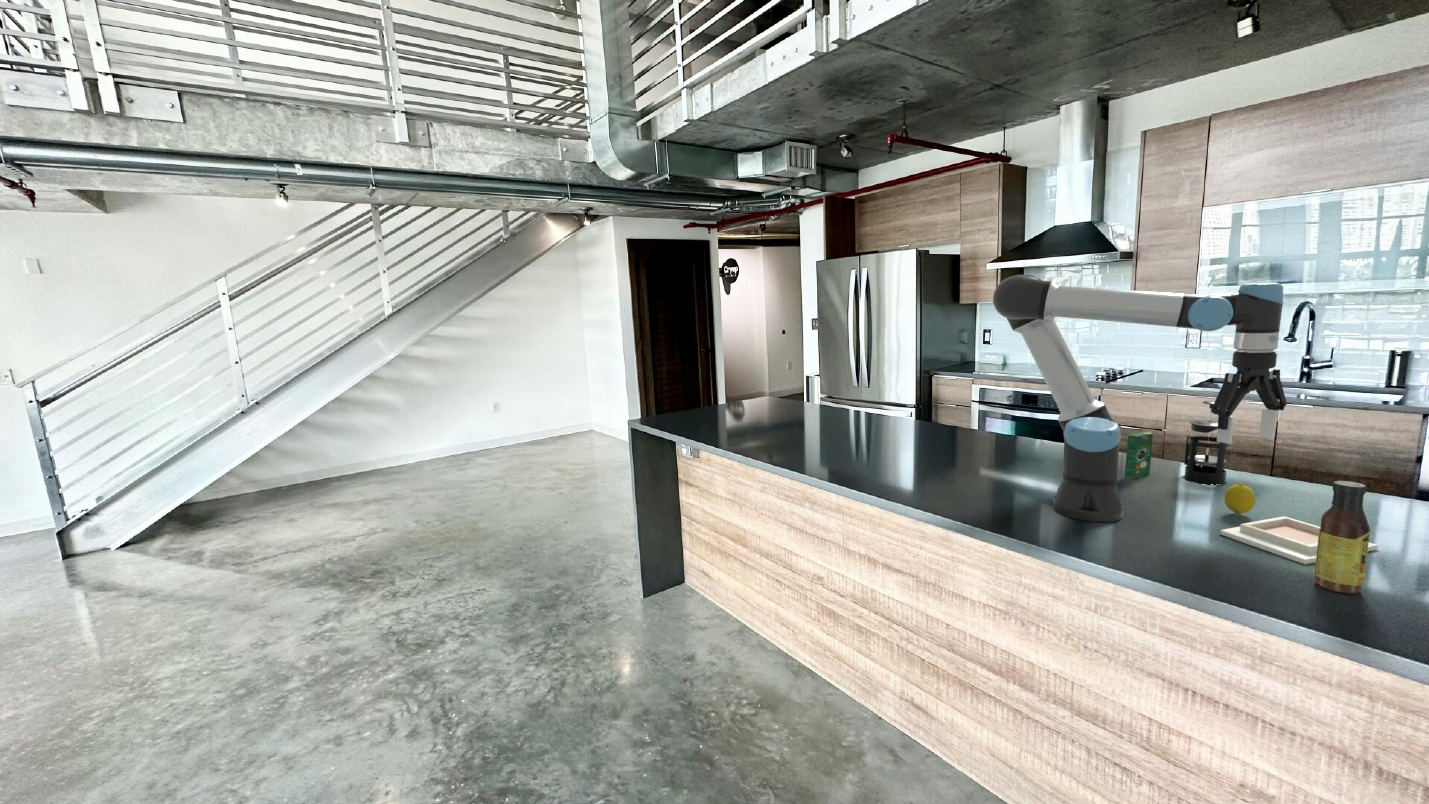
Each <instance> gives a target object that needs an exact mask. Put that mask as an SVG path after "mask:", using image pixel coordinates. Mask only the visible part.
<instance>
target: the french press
mask: <svg viewBox="0 0 1429 804" xmlns="http://www.w3.org/2000/svg"><path fill="white" fill-rule="evenodd" d="M1214 402H1215V400H1205V401H1202V404H1205V405H1209V409H1210V411H1209V412H1210V413H1209V419H1191V420H1189V424H1191V425H1190V429H1191V430H1192V431H1194V432H1198V433H1203V434H1207V435H1186V441H1185V450H1184V451H1185V453H1184V462H1183V463H1184V465H1185V467H1184V468H1185V469H1184V475H1183V479H1184V480H1185V481H1186V482H1189V483H1193V484H1197V485H1202V484H1206V485H1205V486H1212V485H1211V484H1213V485H1216V484H1217V485H1218V484H1225V483H1226V484H1227V470H1226V469H1224V467H1225V464H1226V462H1227V460H1226V459H1225V457H1226V449H1227V448H1230V444H1227V443H1222V442H1217V436H1216V437H1215V436H1211V432H1214V431H1215V430H1218V420H1214V419H1212V417H1213V416H1212V415H1213V413H1212V412H1211V409H1212V407H1213V405H1214ZM1202 441H1203V442H1202ZM1204 441H1205V442H1204ZM1210 442H1213V443H1210ZM1198 448H1205V449H1206V452H1205V453H1206V454H1198V450H1199V449H1198ZM1209 449H1217V456H1215V455H1209ZM1201 466H1202V467H1201ZM1226 484H1225V485H1226Z"/></svg>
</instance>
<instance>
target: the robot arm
mask: <svg viewBox="0 0 1429 804" xmlns="http://www.w3.org/2000/svg"><path fill="white" fill-rule="evenodd" d="M992 302H993V307H994V309H995V310H996V312H997V313H998V314H999V315H1000V316H1002V317H1003V318H1006V319H1007V322H1008V324H1009V326H1010V328H1011V329H1012V331H1013V332H1015V333H1018V334H1020V335H1021V337H1022V338H1023V340H1024V342H1025V344H1026V346H1027V348H1028V350H1029V353H1030V354H1031V355H1032V358H1033V360H1034V362H1035V364H1036V366H1037V368H1038V370H1039V371H1040V375H1041V377H1042V378H1043V380H1044V382H1045V383H1046V386H1047V388H1048V389H1049V391H1050V394H1051V395H1052V398H1053V399H1054V402H1055V403H1056V405H1057V407H1058V409H1059V411H1060V413H1059V415H1058V418H1057V421H1058V423H1059V425H1060V427H1061V429H1062V431H1063V438H1064V439H1063V440H1064V441H1063V442H1064V443H1063V444H1064V445H1063V456H1062V457H1063V461H1062V479H1061V481H1060V484H1059V486H1058V489H1057V492H1056V494H1055V495H1054V497H1053V501H1052V502H1053V503H1052V508H1053V509H1054V511H1055V512H1056V513H1058V514H1060V515H1061V516H1064V517H1067V518H1071V519H1075V520H1079V521H1083V522H1084V521H1085V522H1093V523H1109V522H1116V521H1120V520H1121V519H1122V518H1124V509H1125V508H1124V505H1123V503H1122V502H1121V497H1120V492H1119V489H1118V484H1117V481H1118V472H1119V471H1118V470H1119V459H1120V458H1119V457H1120V456H1119V453H1120V443H1121V440H1122V434H1121V428H1120V426H1119V424H1118V423H1117V421H1115V419H1114V418H1112V415H1111V414H1110V412H1109V410H1108V408H1107V406H1106V404H1105V402H1102V401H1100V400H1097V399H1095V397H1094V395H1093V393H1092V391H1091V389H1090V388H1089V386H1088V384H1087V382H1086V380H1085V377H1084V375H1083V373H1082V371H1081V370H1080V368H1079V366H1078V364H1077V362H1076V360H1075V358H1074V356H1073V354H1072V351H1071V350H1070V349H1069V346H1068V344H1067V342H1066V340H1065V339H1064V336H1063V334H1062V333H1061V331H1060V329H1059V326H1058V325H1057V323H1056V321H1055V318H1056V317H1057V318H1058V317H1059V318H1068V319H1079V320H1081V319H1082V320H1090V321H1091V320H1092V321H1103V322H1114V323H1126V324H1138V325H1148V326H1162V327H1172V328H1173V327H1175V328H1181V329H1189V330H1190V329H1192V330H1198V331H1201V332H1215V331H1217V330H1220V329H1223V328H1224V327H1225V326H1235V331H1234V332H1235V334H1234V340H1233V349H1235V351H1234V352H1233V354H1232V361H1231V366H1232V367H1234V368H1236V373H1232V372H1226V373H1225V374H1224V379H1223V383H1222V385H1221V387H1220V389H1219V392H1218V393H1217V396H1216V398H1215V400H1214V401H1215V402H1214V405H1213V407H1212V409H1210V411H1211V412H1212V415H1217V421H1218V429H1217V436H1216V437H1217V442H1216V443H1219V442H1222V443H1227V444H1229V445H1230V444H1232V443H1233V433H1234V432H1233V430H1234V425H1235V424H1234V423H1235V416H1234V415H1233V413H1234V412H1235V411H1236V409H1237V408H1238V406H1239V405H1240V403H1241V402H1242V400H1243V399H1244V397H1245V395H1247V394H1250V392H1254V391H1256V393H1257V395H1258V396H1259V398H1260V400H1261V402H1262V403H1263V405H1264V406H1265V408H1262V410H1261V420H1260V428H1259V436H1263V437H1268V438H1275V437H1276V430H1277V421H1278V413H1279V411H1284V410H1285V408H1286V407H1287V404H1288V403H1287V399H1286V396H1285V391H1284V388H1283V384H1282V381H1281V370H1280V369H1279V368H1275V367H1276V366H1277V358H1278V352H1276V351H1275V350H1277V349H1278V345H1279V340H1280V338H1279V335H1280V327H1281V322H1282V321H1281V320H1282V314H1283V313H1282V312H1283V305H1284V286H1283V285H1282V284H1281V283H1279V282H1260V283H1259V282H1258V283H1257V282H1256V283H1243V284H1241V285H1240V286H1239V288H1238V291H1237V292H1230V293H1205V294H1204V293H1203V294H1201V293H1200V294H1199V293H1196V294H1194V293H1174V292H1161V291H1160V292H1159V291H1148V290H1147V291H1145V290H1144V291H1143V290H1128V289H1117V288H1116V289H1114V288H1113V289H1112V288H1099V287H1082V286H1081V287H1080V286H1069V285H1068V286H1067V285H1057V283H1056V282H1055V281H1053V280H1042V279H1041V278H1039V277H1038V276H1035V275H1033V274H1016V275H1012V276H1009V277H1006V278H1005V279H1003V280H1002V281H1000V282H999V284H998V285H997V286H996V288H995V289H994V292H993V296H992Z"/></svg>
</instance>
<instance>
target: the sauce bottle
mask: <svg viewBox="0 0 1429 804" xmlns="http://www.w3.org/2000/svg"><path fill="white" fill-rule="evenodd" d="M1332 491H1333V493H1332V494H1333V496H1332V501H1331V505H1332V506H1331V507H1330V508H1328V509H1327V510H1326V511H1325V512H1324V513H1323V514H1322V515H1321V518H1320V526H1319V527H1320V530H1319V537H1318V546H1317V555H1316V562H1315V565H1314V581H1315V583H1316V584H1317V585H1318V586H1319V587H1321V588H1323V589H1326V590H1328V591H1332V592H1335V593H1336V592H1337V593H1340V594H1341V593H1342V594H1347V595H1348V594H1349V595H1351V594H1358V593H1360V592H1361V590H1362V585H1364V582H1365V575H1366V574H1365V572H1366V565H1367V561H1368V559H1367V558H1368V553H1369V551H1368V544H1369V543H1370V535H1371V527H1370V525H1369V522H1368V520H1367V516H1366V514H1365V513H1366V512H1365V511H1364V506H1363V503H1364V497H1365V494H1366V493H1367V486H1366V484H1364V483H1359V482H1355V481H1347V480H1336V481H1333V483H1332Z"/></svg>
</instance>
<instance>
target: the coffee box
mask: <svg viewBox="0 0 1429 804" xmlns="http://www.w3.org/2000/svg"><path fill="white" fill-rule="evenodd" d="M1153 436H1154V433H1153V432H1147V431H1141V432H1138V433H1137V432H1136V433H1131V434H1127V439H1126V440H1127V443H1126V453H1125V455H1126V456H1125V465H1124V476H1123V477H1124V478H1126V479H1129V480H1136V479H1139V478H1140V479H1141V478H1143V477H1148V476H1150V473H1151V472H1150V471H1151V460H1152V459H1151V458H1152V449H1153V448H1152V447H1153V440H1154V439H1153V438H1154V437H1153Z"/></svg>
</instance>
